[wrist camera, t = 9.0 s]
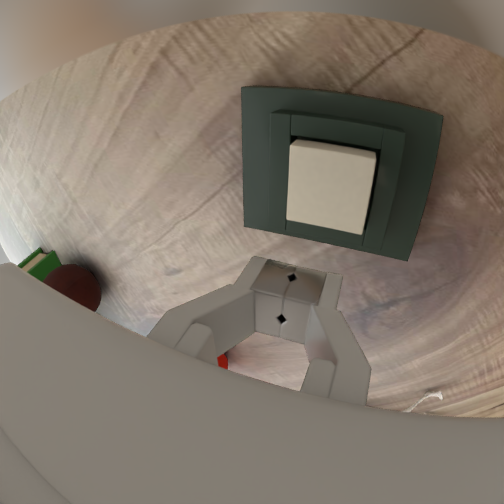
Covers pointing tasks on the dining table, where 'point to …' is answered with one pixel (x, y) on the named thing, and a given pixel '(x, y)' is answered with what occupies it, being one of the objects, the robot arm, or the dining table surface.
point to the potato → (75, 285)
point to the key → (329, 185)
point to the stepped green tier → (345, 134)
